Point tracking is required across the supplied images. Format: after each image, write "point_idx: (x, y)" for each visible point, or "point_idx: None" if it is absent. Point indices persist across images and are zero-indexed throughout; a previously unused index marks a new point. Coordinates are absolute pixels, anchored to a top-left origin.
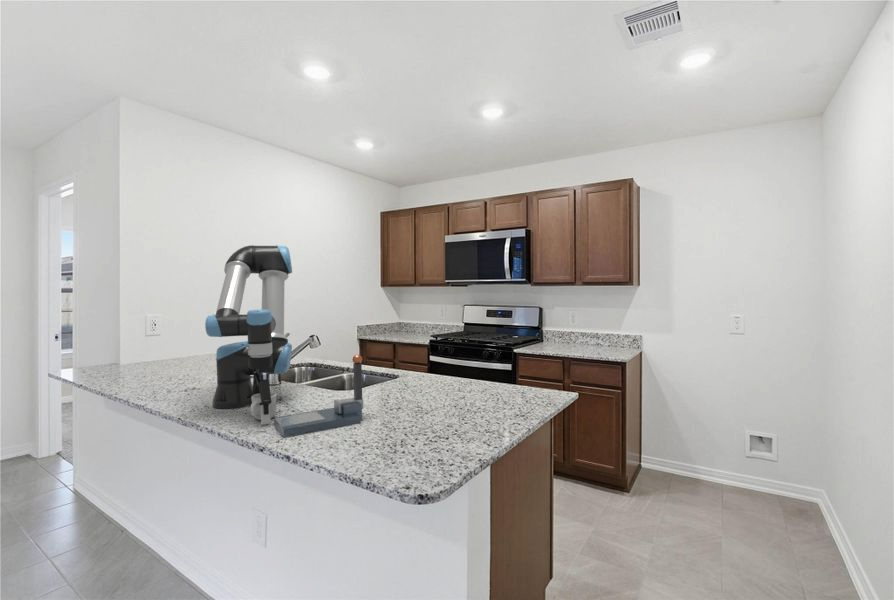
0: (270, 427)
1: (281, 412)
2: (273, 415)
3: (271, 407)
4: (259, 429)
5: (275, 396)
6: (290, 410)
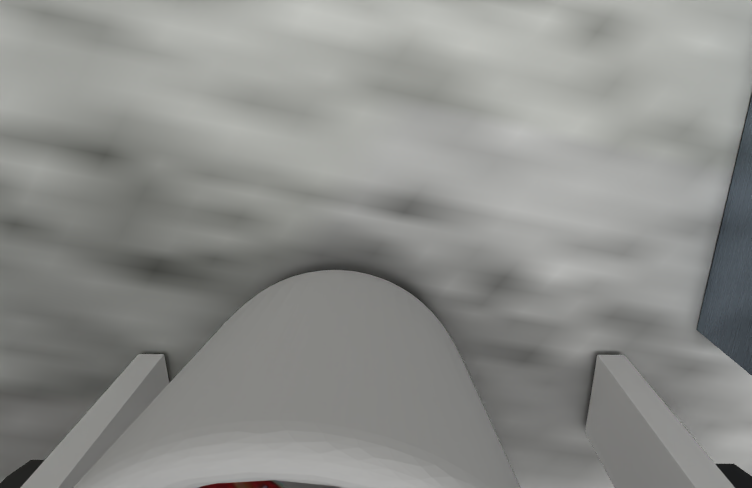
0: (740, 370)
1: (179, 145)
2: (420, 301)
3: (482, 405)
4: (717, 460)
5: (463, 473)
6: (127, 2)
